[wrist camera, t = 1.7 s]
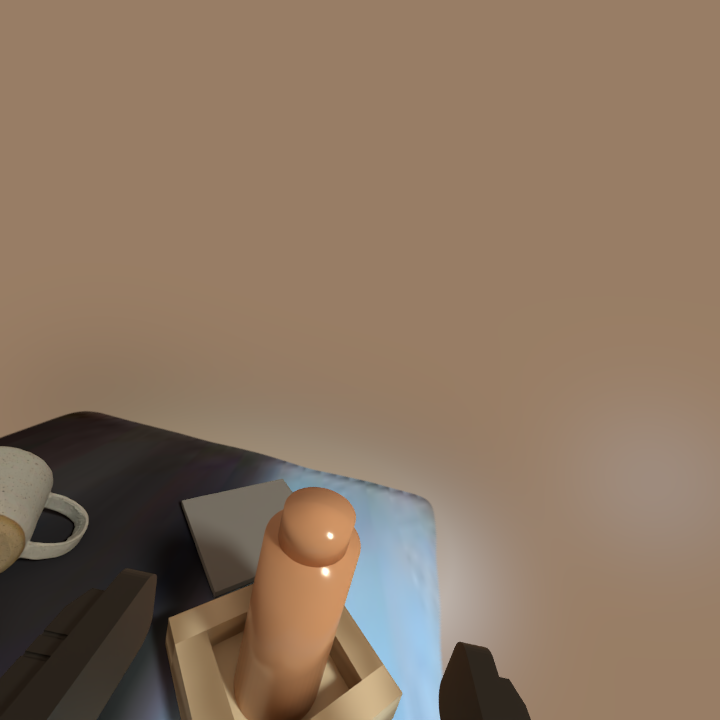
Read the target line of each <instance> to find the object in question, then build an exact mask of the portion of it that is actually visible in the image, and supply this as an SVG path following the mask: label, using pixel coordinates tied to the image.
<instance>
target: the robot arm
mask: <svg viewBox="0 0 720 720" xmlns="http://www.w3.org/2000/svg"><path fill="white" fill-rule="evenodd" d="M156 583H157V576H156V574H152V573H147V572H142V571H138V570H133V569H129V568H126V569H124V570H123V571H122V572H121V573H120V574H119V575H118V576H117V577H116V578H115V579H114V581H113V582H112V583H111V584H110V585H109V587H108V588H107V589H106V590H105V591H103V590H99V589H94V588H92V589H90V590H89V591H87V592H86V593H85V594H83V595H82V596H80V597H79V598H77V599H76V600H74V601H73V602H71V603H70V604H68V605H67V606H66V607H65V608H64V609H63V610H62V611H61V612H60V613H59V614H58V615H57V617H56V618H55V619H54V620H53V621H52V622H51V623H50V624H49V625H48V626H47V628H46V629H45V630H44V632H43V634H42V635H39V636H38V637H37V639H36V640H35V641H34V642H33V643H32V644H31V645H30V646H29V647H28V648H27V650H26V651H25V653H24V655H23V656H20V657H19V658H18V659H17V661H16V662H15V663H14V664H13V665H12V666H11V667H10V668H9V669H8V670H7V672H6V673H5V674H4V675H3V676H2V677H1V678H0V720H97V718H98V717H99V715H100V713H101V712H102V710H103V708H104V707H105V705H106V703H107V702H108V700H109V699H110V697H111V695H112V694H113V692H114V690H115V689H116V687H117V685H118V684H119V682H120V681H121V679H122V677H123V676H124V674H125V672H126V671H127V669H128V667H129V666H130V664H131V662H132V661H133V659H134V658H135V656H136V654H137V653H138V651H139V649H140V648H141V646H142V644H143V642H144V640H145V638H146V636H147V633H148V631H149V628H150V625H151V621H152V617H153V608H154V600H155V591H156ZM439 712H440V719H441V720H531V719H530V716H529V714H528V711H527V708H526V705H525V704H524V702H523V701H522V699H521V698H520V696H519V694H518V693H517V691H516V689H515V688H514V686H513V685H512V683H511V682H510V680H509V679H505V678H501V677H499V675H498V672H497V669H496V666H495V662H494V659H493V656H492V654H491V652H490V651H489V649H488V648H485V647H481V646H477V645H471V644H467V643H463V642H458V643H457V644H456V646H455V648H454V651H453V653H452V656H451V658H450V661H449V663H448V666H447V668H446V670H445V673H444V675H443V678H442V680H441V684H440V689H439Z"/></svg>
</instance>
